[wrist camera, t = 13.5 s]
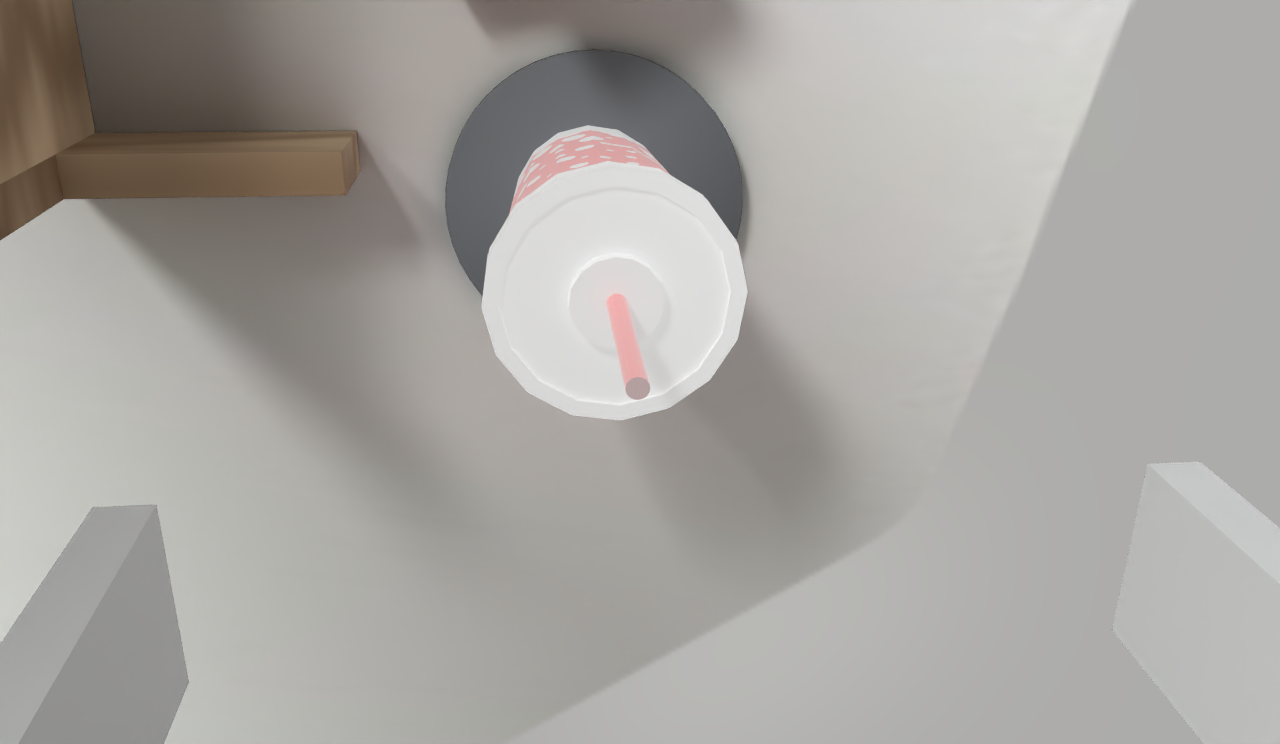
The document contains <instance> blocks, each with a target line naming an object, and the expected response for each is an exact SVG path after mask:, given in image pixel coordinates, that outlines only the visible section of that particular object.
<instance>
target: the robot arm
mask: <svg viewBox="0 0 1280 744" xmlns="http://www.w3.org/2000/svg"><path fill="white" fill-rule="evenodd" d="M1112 631H1113V632H1114V633H1115V634H1116V635H1117V637H1118V638H1119V639H1120V641H1121V642H1122V643H1123V644H1124V646H1125V647H1126V648H1127V649H1128V651H1129V652H1130V653H1131V654H1132V655H1133V657H1134V658H1135V659H1136V660H1137V662H1138V663H1139V664H1140V665H1141V667H1142V668H1143V669H1144V670H1145V672H1146V673H1147V674H1148V675H1149V676H1150V678H1151V679H1152V680H1153V682H1154V683H1155V684H1156V685H1157V687H1158V688H1159V689H1160V690H1161V691H1162V693H1163V694H1164V695H1165V696H1166V698H1167V699H1168V700H1169V701H1170V703H1171V704H1172V705H1173V706H1174V708H1175V709H1176V710H1177V711H1178V712H1179V714H1180V715H1181V716H1182V718H1183V719H1184V720H1185V721H1186V722H1187V724H1188V725H1189V726H1190V727H1191V729H1192V730H1193V731H1194V732H1195V734H1196V735H1197V736H1198V737H1199V739H1200V740H1201V741H1202V742H1203V743H1204V744H1280V528H1279V527H1278V526H1276V525H1275V524H1274V523H1273V522H1272V521H1270V520H1269V519H1268V518H1267V517H1266V516H1264V515H1263V514H1262V513H1261V512H1259V511H1258V510H1257V509H1256V508H1255V507H1254V506H1253V505H1251V504H1250V503H1249V502H1248V501H1247V500H1245V499H1244V498H1243V497H1242V496H1241V495H1239V494H1238V493H1237V492H1236V491H1234V490H1233V489H1232V488H1231V487H1230V486H1229V485H1227V484H1226V483H1225V482H1224V481H1223V480H1221V479H1220V478H1219V477H1218V476H1217V475H1215V474H1214V473H1213V472H1211V470H1209V469H1208V468H1207V467H1206V466H1205V465H1203V464H1202V463H1201V462H1182V463H1156V464H1147V468H1146V473H1145V478H1144V482H1143V487H1142V491H1141V496H1140V501H1139V505H1138V510H1137V515H1136V520H1135V525H1134V529H1133V534H1132V538H1131V543H1130V548H1129V552H1128V557H1127V562H1126V566H1125V571H1124V576H1123V581H1122V585H1121V590H1120V594H1119V599H1118V604H1117V609H1116V613H1115V618H1114V623H1113V628H1112ZM188 683H189V680H188V675H187V669H186V664H185V658H184V653H183V647H182V642H181V636H180V631H179V626H178V620H177V615H176V609H175V604H174V598H173V593H172V587H171V582H170V576H169V571H168V565H167V560H166V555H165V549H164V544H163V538H162V533H161V527H160V522H159V516H158V511H157V505H136V506H112V507H93V508H92V509H91V511H90V512H89V514H88V515H87V517H86V518H85V520H84V521H83V523H82V524H81V526H80V527H79V528H78V530H77V531H76V533H75V534H74V536H73V537H72V539H71V540H70V542H69V543H68V545H67V546H66V548H65V549H64V551H63V552H62V554H61V555H60V557H59V558H58V559H57V561H56V562H55V564H54V565H53V567H52V568H51V570H50V571H49V573H48V574H47V576H46V577H45V579H44V580H43V582H42V583H41V585H40V586H39V587H38V589H37V590H36V592H35V593H34V595H33V596H32V598H31V599H30V601H29V602H28V604H27V605H26V607H25V608H24V610H23V611H22V613H21V614H20V615H19V617H18V618H17V620H16V621H15V623H14V624H13V626H12V627H11V629H10V630H9V632H8V633H7V635H6V636H5V638H4V639H3V641H2V642H1V644H0V744H164V742H165V739H166V737H167V734H168V732H169V729H170V727H171V725H172V722H173V720H174V717H175V715H176V712H177V710H178V707H179V705H180V702H181V700H182V698H183V695H184V693H185V690H186V688H187V685H188Z"/></svg>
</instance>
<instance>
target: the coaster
mask: <svg viewBox="0 0 1280 744" xmlns="http://www.w3.org/2000/svg"><path fill="white" fill-rule="evenodd" d="M587 125H589V126H595V127H602V128H609V129H616V130H619V131H621V132H622V133H624V134H626V135H627V136H629V137H630V138H632V139H634V140H635V141H637V142H639V143H640V144H642V145H644V147H645V148H646V149H647V150H648V151H649V152H650V153H651V154H652V155H653V156H654V158H655V159H656V160H657V161H658V162H659V163H660V164H661V165H662V166H663V167H664V168H665V170H666V171H667V172H668V173H669V174H670V175H671V176H673V177H674V178H676V179H678V180H679V181H681V182H683V183H684V184H686V185H688V186H689V187H691V188H693V189H694V190H696V191H698V192H699V193H701V194H702V195H703V196H704V197H705V198H706V199H707V200H708V201H709V203H710V204H711V206H712V207H713V208H714V210H715V211H716V213H717V214H718V215H719V217H720V218H721V220H722V221H723V223H724V224H725V225H726V227H727V228H728V230H729V231H730V232H731V234H732V235H733V237H734V238H735V239H736V238H737V234H738V230H739V226H740V221H741V212H742V181H741V174H740V168H739V164H738V160H737V157H736V153H735V150H734V147H733V145H732V142H731V140H730V138H729V136H728V133H727V131H726V129H725V128H724V126H723V124H722V123H721V121H720V120H719V118H718V116H717V115H716V113H715V112H714V111H713V110H712V108H711V107H710V106H709V105H708V103H707V102H706V101H705V100H704V99H703V98H702V96H701V95H700V94H699V93H698V92H696V91H695V90H694V89H693V88H692V87H691V86H690V85H689V84H688V83H687V82H685V81H684V80H683V79H681V78H680V77H678V76H677V75H675V74H674V73H673V72H671V71H670V70H668V69H666V68H664V67H662V66H660V65H658V64H656V63H654V62H652V61H649V60H646V59H643V58H641V57H638V56H635V55H631V54H626V53H621V52H616V51H607V50H581V51H571V52H566V53H562V54H557V55H553V56H550V57H547V58H544V59H541V60H539V61H536V62H534V63H532V64H530V65H528V66H526V67H524V68H522V69H520V70H518V71H516V72H515V73H513V74H512V75H511V76H509V77H508V78H506V79H505V80H503V81H502V82H501V83H500V84H498V85H497V86H496V87H495V88H494V89H493V90H492V91H491V92H490V93H489V94H488V95H487V96H486V97H485V98H484V99H483V100H482V101H481V103H480V104H479V105H478V106H477V108H476V109H475V110H474V111H473V113H472V114H471V116H470V118H469V119H468V121H467V122H466V124H465V126H464V127H463V129H462V131H461V134H460V136H459V138H458V141H457V143H456V145H455V148H454V151H453V155H452V158H451V162H450V165H449V169H448V176H447V182H446V203H445V208H446V216H447V224H448V229H449V233H450V237H451V240H452V244H453V247H454V249H455V252H456V254H457V257H458V259H459V262H460V264H461V265H462V267H463V269H464V271H465V272H466V274H467V276H468V277H469V279H470V280H471V282H472V283H473V284H474V286H475V287H476V288H477V290H478V291H479V292H480V293H481V295H482V296H483V289H484V281H485V272H486V264H487V256H488V253H489V248H490V246H491V245H492V243H493V241H494V240H495V238H496V236H497V235H498V233H499V231H500V229H501V228H502V226H503V224H504V223H505V221H506V219H507V218H508V216H509V213H510V209H511V205H512V201H513V198H514V194H515V190H516V186H517V182H518V178H519V176H520V174H521V172H522V171H523V169H524V167H525V166H526V164H527V162H528V160H529V159H530V157H531V155H532V154H533V152H534V151H535V150H536V149H537V148H539V147H540V146H541V145H543V144H544V143H545V142H547V141H548V140H549V139H551V138H552V137H553V136H555V135H556V134H557V133H560V132H564V131H567V130H571V129H575V128H579V127H583V126H587Z"/></svg>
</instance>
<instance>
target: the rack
mask: <svg viewBox="0 0 1280 744" xmlns="http://www.w3.org/2000/svg"><path fill="white" fill-rule="evenodd" d="M359 172H360V164H359V152H358V141H357V131H255V132H129V133H95V128H94V123H93V117H92V111H91V106H90V100H89V94H88V89H87V83H86V77H85V72H84V66H83V60H82V55H81V49H80V43H79V38H78V32H77V26H76V21H75V15H74V10H73V4H72V0H0V240H1V239H3V238H5V237H6V236H8V235H9V234H11V233H12V232H14V231H15V230H17V229H18V228H20V227H22V226H23V225H25V224H26V223H28V222H29V221H31V220H32V219H34V218H35V217H37V216H39V215H40V214H42V213H43V212H45V211H46V210H48V209H49V208H51V207H52V206H54V205H55V204H57V203H59V202H60V201H62V200H63V199H101V198H177V197H254V196H330V195H346V194H347V192H348V190H349V189H350V187H351V185H352V184H353V182H354V180H355V179H356V177H357V175H358V174H359Z"/></svg>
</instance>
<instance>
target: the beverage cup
mask: <svg viewBox="0 0 1280 744" xmlns="http://www.w3.org/2000/svg"><path fill="white" fill-rule="evenodd" d="M747 293H748V290H747V285H746V280H745V275H744V270H743V265H742V260H741V255H740V250H739V245H738V243H737V241H736V239H735V238H734V237H733V235H732V234H731V232H730V231H729V230H728V228H727V227H726V225H725V224H724V223H723V221H722V220H721V218H720V217H719V215H718V214H717V213H716V211H715V210H714V208H713V207H712V206H711V204H710V203H709V201H708V200H707V199H706V198H705V197H704V196H703V195H702V194H701V193H699V192H698V191H696V190H694V189H693V188H691V187H689V186H688V185H686V184H684V183H683V182H681V181H679V180H678V179H676V178H674V177H673V176H671V175H670V174H669V173H668V172H667V171H666V170H665V168H664V167H663V166H662V165H661V164H660V163H659V162H658V161H657V160H656V159H655V158H654V156H653V155H652V154H651V153H650V152H649V151H648V150H647V149H646V148H645V147H644V145H642V144H640V143H639V142H637V141H635V140H634V139H632V138H630V137H629V136H627V135H626V134H624V133H622V132H621V131H619V130H616V129H609V128H602V127H595V126H589V125H587V126H583V127H579V128H575V129H571V130H567V131H564V132H560V133H557V134H556V135H555V136H553V137H552V138H551V139H549V140H548V141H547V142H545V143H544V144H543V145H541V146H540V147H539V148H537V149H536V150H535V151H534V152H533V154H532V155H531V157H530V159H529V160H528V162H527V164H526V166H525V167H524V169H523V171H522V172H521V174H520V176H519V178H518V182H517V186H516V190H515V194H514V198H513V201H512V205H511V209H510V213H509V216H508V218H507V219H506V221H505V223H504V224H503V226H502V228H501V229H500V231H499V233H498V235H497V236H496V238H495V240H494V241H493V243H492V245H491V246H490V248H489V253H488V256H487V264H486V272H485V281H484V289H483V297H482V306H481V309H482V312H483V315H484V319H485V322H486V325H487V328H488V332H489V335H490V338H491V341H492V345H493V348H494V351H495V354H496V356H497V357H498V359H499V360H500V361H501V362H502V363H503V364H504V366H505V367H506V368H507V369H508V370H509V372H510V373H511V374H512V375H513V376H514V377H515V379H516V380H517V381H518V382H519V383H520V384H521V386H522V387H523V388H524V389H525V390H526V391H527V393H529V394H531V395H533V396H535V397H537V398H539V399H541V400H543V401H545V402H547V403H549V404H551V405H552V406H554V407H556V408H558V409H560V410H562V411H564V412H566V413H568V414H570V415H574V416H583V417H592V418H601V419H611V420H620V421H621V420H625V419H629V418H633V417H637V416H641V415H645V414H649V413H653V412H657V411H661V410H665V409H668V408H670V407H672V406H673V405H675V404H676V403H678V402H679V401H680V400H682V399H683V398H685V397H686V396H688V395H689V394H691V393H692V392H694V391H695V390H696V389H698V388H699V387H701V386H702V385H704V384H705V383H707V382H708V381H709V380H710V379H711V378H712V376H713V375H714V373H715V372H716V371H717V369H718V368H719V366H720V365H721V363H722V362H723V360H724V359H725V357H726V356H727V354H728V353H729V352H730V350H731V349H732V347H733V346H734V344H735V343H736V341H737V340H738V336H739V331H740V326H741V321H742V317H743V312H744V307H745V303H746V298H747Z"/></svg>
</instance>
